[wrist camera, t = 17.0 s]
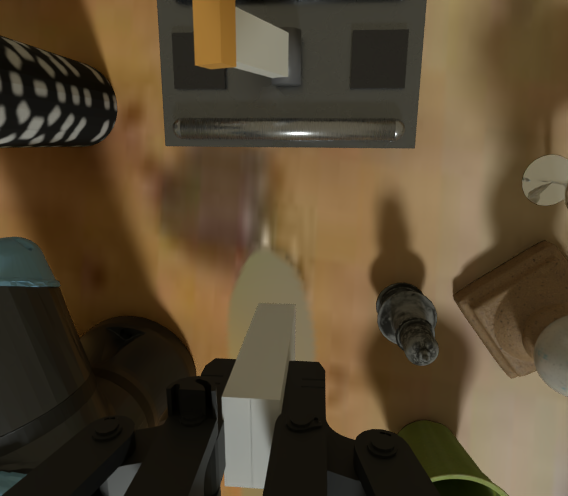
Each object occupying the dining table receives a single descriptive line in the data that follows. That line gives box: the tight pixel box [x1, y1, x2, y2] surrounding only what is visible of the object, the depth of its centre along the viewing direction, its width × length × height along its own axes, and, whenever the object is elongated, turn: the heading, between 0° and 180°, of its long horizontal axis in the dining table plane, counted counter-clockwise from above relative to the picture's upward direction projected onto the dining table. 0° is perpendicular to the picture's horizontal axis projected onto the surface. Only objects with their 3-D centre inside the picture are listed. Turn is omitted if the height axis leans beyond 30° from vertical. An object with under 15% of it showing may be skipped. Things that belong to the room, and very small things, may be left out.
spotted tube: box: [0, 36, 117, 148], centre depth 34 cm, size 8×8×20 cm
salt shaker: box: [376, 283, 439, 366], centre depth 40 cm, size 6×6×12 cm
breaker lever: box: [192, 0, 302, 86], centre depth 30 cm, size 2×4×11 cm, turn 1°
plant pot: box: [398, 420, 509, 496], centre depth 44 cm, size 12×12×11 cm
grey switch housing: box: [157, 0, 427, 148], centre depth 38 cm, size 22×14×8 cm, turn 90°
